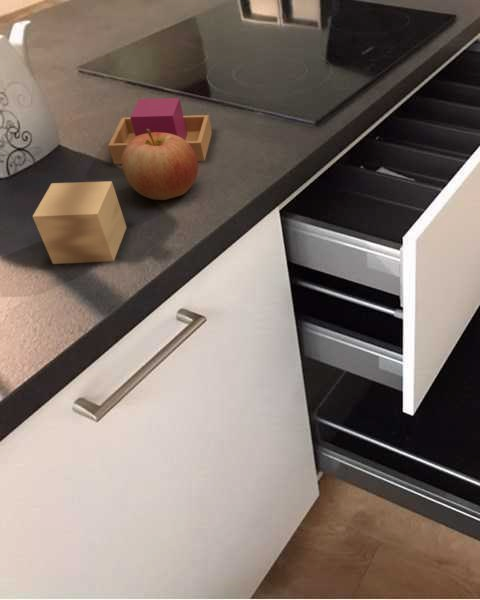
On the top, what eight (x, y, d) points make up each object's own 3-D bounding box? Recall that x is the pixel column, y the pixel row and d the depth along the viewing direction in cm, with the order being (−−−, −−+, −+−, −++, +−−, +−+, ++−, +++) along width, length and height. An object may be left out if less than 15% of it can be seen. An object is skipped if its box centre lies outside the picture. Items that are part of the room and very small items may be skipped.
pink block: (140, 154, 82) (129, 116, 78) (148, 135, 85) (138, 98, 82) (181, 153, 82) (172, 115, 79) (187, 134, 86) (179, 97, 82)
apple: (116, 196, 76) (96, 133, 70) (170, 168, 81) (155, 107, 75) (162, 220, 72) (144, 155, 67) (216, 189, 77) (203, 126, 72)
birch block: (53, 265, 66) (32, 216, 62) (70, 231, 71) (51, 183, 67) (114, 263, 67) (97, 213, 63) (127, 228, 71) (112, 180, 67)
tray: (114, 165, 81) (107, 145, 79) (127, 137, 86) (121, 117, 85) (205, 162, 82) (200, 142, 80) (212, 134, 87) (208, 114, 86)
